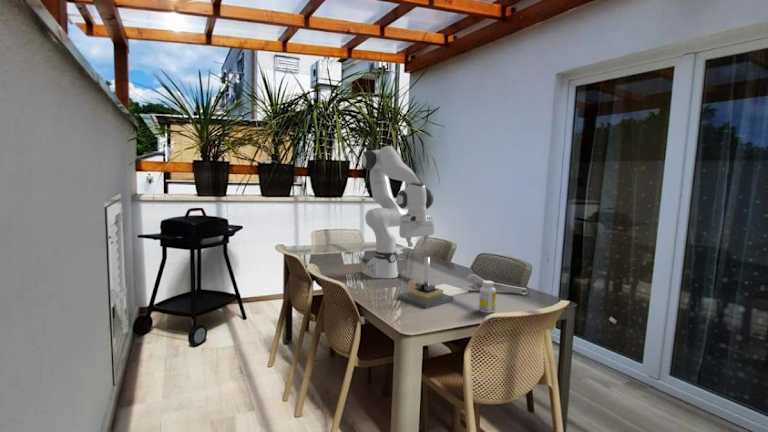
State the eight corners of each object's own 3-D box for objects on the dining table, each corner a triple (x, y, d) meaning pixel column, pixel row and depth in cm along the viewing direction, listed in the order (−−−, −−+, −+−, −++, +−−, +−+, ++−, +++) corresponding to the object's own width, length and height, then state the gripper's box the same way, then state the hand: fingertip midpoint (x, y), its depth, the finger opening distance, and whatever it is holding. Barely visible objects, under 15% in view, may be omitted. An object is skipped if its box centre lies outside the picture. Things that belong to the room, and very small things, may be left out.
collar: (402, 292, 199) (402, 282, 199) (418, 288, 206) (418, 278, 206) (426, 300, 187) (426, 289, 186) (442, 296, 194) (443, 285, 193)
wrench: (526, 300, 206) (465, 289, 212) (525, 299, 208) (465, 288, 214) (529, 284, 205) (467, 273, 211) (528, 283, 207) (467, 273, 213)
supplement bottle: (492, 308, 184) (493, 279, 183) (496, 313, 177) (498, 283, 176) (477, 308, 184) (478, 279, 182) (481, 313, 177) (482, 283, 176)
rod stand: (398, 298, 196) (399, 256, 194) (425, 292, 207) (426, 252, 205) (426, 308, 182) (427, 263, 180) (453, 300, 194) (454, 258, 192)
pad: (422, 290, 210) (422, 288, 210) (444, 285, 221) (444, 283, 221) (446, 298, 198) (446, 296, 198) (468, 292, 208) (468, 290, 208)
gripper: (427, 215, 207) (427, 242, 208) (397, 217, 194) (397, 247, 195) (437, 215, 203) (437, 244, 204) (406, 218, 189) (406, 248, 190)
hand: (417, 245), depth 199 cm, fingers open, 8 cm apart
